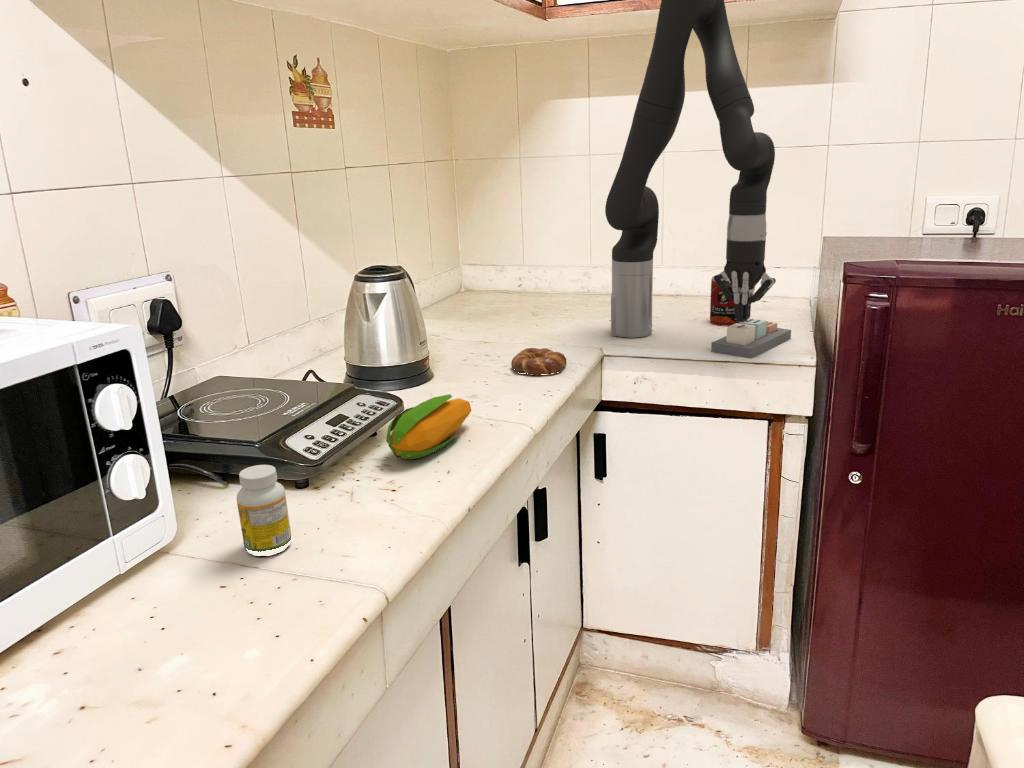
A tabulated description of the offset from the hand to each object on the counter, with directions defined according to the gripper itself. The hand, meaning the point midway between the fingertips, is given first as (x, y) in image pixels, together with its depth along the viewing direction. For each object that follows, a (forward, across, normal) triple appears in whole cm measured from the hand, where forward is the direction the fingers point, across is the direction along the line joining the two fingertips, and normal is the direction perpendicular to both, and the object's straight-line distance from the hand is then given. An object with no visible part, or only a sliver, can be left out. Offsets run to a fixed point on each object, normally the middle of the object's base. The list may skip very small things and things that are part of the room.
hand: (742, 321), depth 159 cm
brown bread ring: (+7, -27, -34) cm, 44 cm away
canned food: (+6, -14, +21) cm, 27 cm away
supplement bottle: (+6, -6, -108) cm, 108 cm away
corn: (+7, -14, -74) cm, 76 cm away
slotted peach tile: (+6, 0, +11) cm, 13 cm away
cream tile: (+5, 0, 0) cm, 5 cm away
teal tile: (+5, 0, +6) cm, 7 cm away
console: (+6, 0, +6) cm, 8 cm away
